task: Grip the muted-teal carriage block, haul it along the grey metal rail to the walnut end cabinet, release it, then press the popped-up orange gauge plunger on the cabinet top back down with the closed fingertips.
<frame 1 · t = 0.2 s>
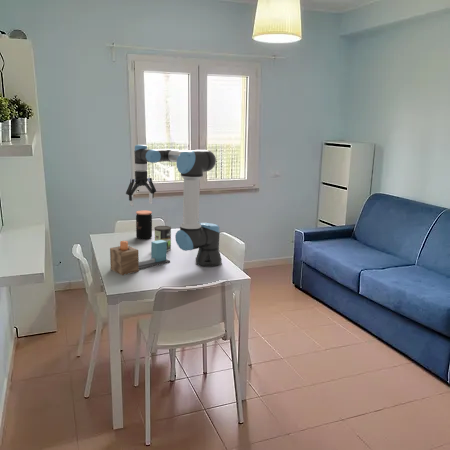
hand: (141, 204, 277), 28 cm above the table, fingers open, 13 cm apart
rail: (150, 264, 252), on the table
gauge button: (124, 247, 238), point 13 cm above the table, slide at 0.0 cm
coffee jar: (144, 237, 306), on the table
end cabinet: (124, 270, 241), on the table
carriage: (158, 250, 254), point 7 cm above the table, slide at 0.0 cm
coffee can: (162, 249, 281), on the table
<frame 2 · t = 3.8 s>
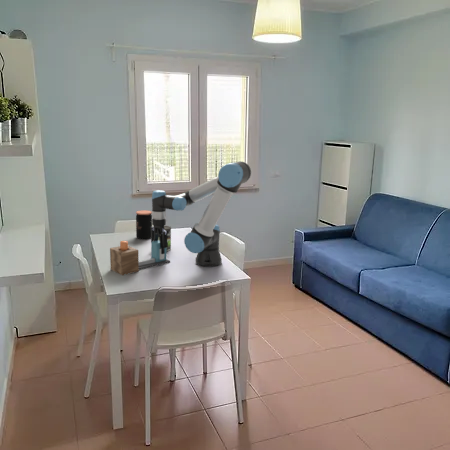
hand: (159, 257, 255), 3 cm above the table, fingers closed on carriage, 5 cm apart
carriage: (158, 250, 254), point 7 cm above the table, slide at 0.0 cm, touching gripper
everything else where it was.
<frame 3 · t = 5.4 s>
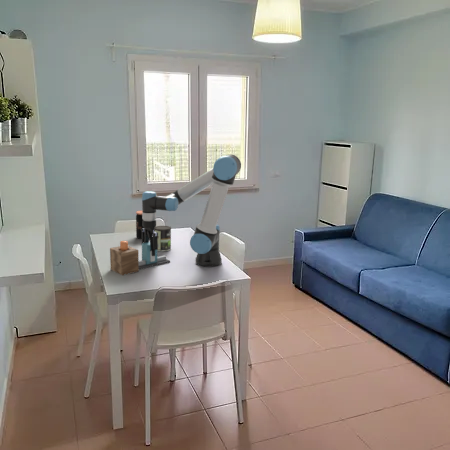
hand: (149, 259, 251), 3 cm above the table, fingers closed on carriage, 5 cm apart
carriage: (149, 252, 250), point 7 cm above the table, slide at 6.4 cm, touching gripper
everything else where it was.
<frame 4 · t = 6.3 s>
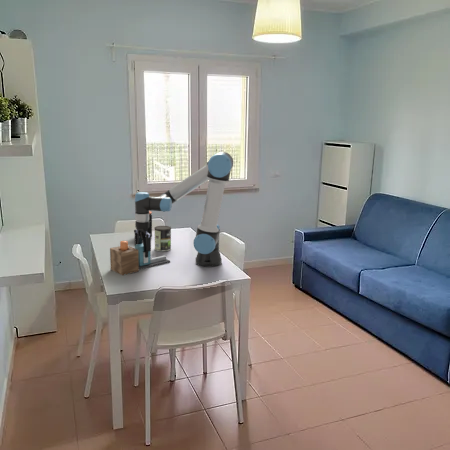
hand: (142, 261, 248), 3 cm above the table, fingers closed on carriage, 5 cm apart
carriage: (142, 254, 247), point 7 cm above the table, slide at 10.9 cm, touching gripper
everything else where it was.
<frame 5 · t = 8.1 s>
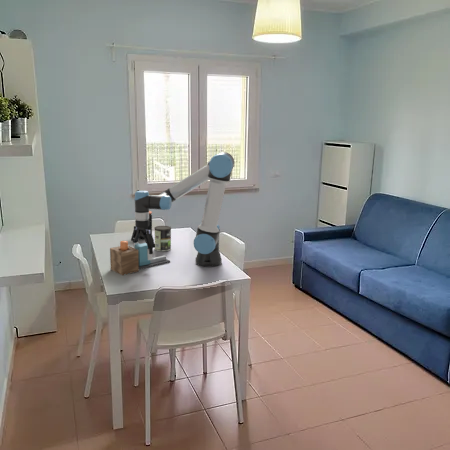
hand: (143, 256, 247), 5 cm above the table, fingers open, 13 cm apart
carriage: (142, 254, 247), point 7 cm above the table, slide at 11.0 cm
everything else where it was.
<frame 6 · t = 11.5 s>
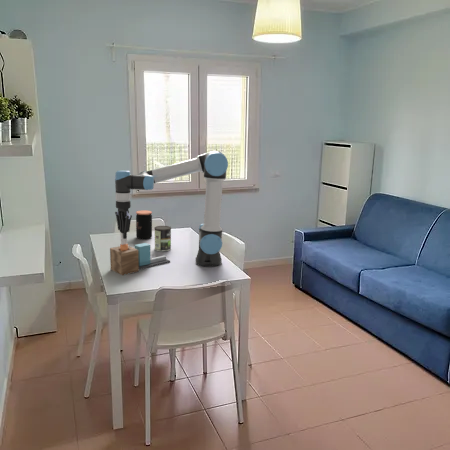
hand: (123, 244, 237), 15 cm above the table, fingers closed
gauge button: (124, 249, 238), point 12 cm above the table, slide at -1.5 cm, touching gripper
everything else where it was.
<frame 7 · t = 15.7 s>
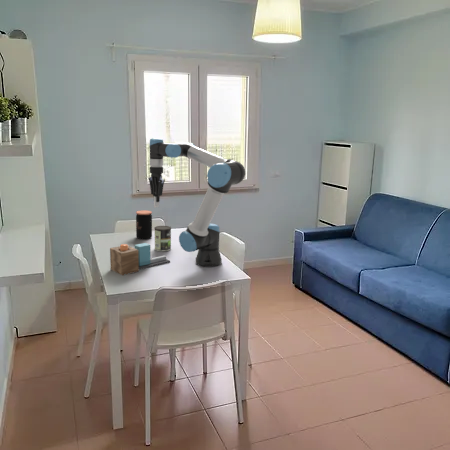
hand: (156, 207, 257), 30 cm above the table, fingers closed
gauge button: (124, 250, 238), point 11 cm above the table, slide at -1.9 cm
everything else where it was.
at the end: carriage slide at 11.0 cm; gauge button slide at -1.9 cm; the gripper is holding nothing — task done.
